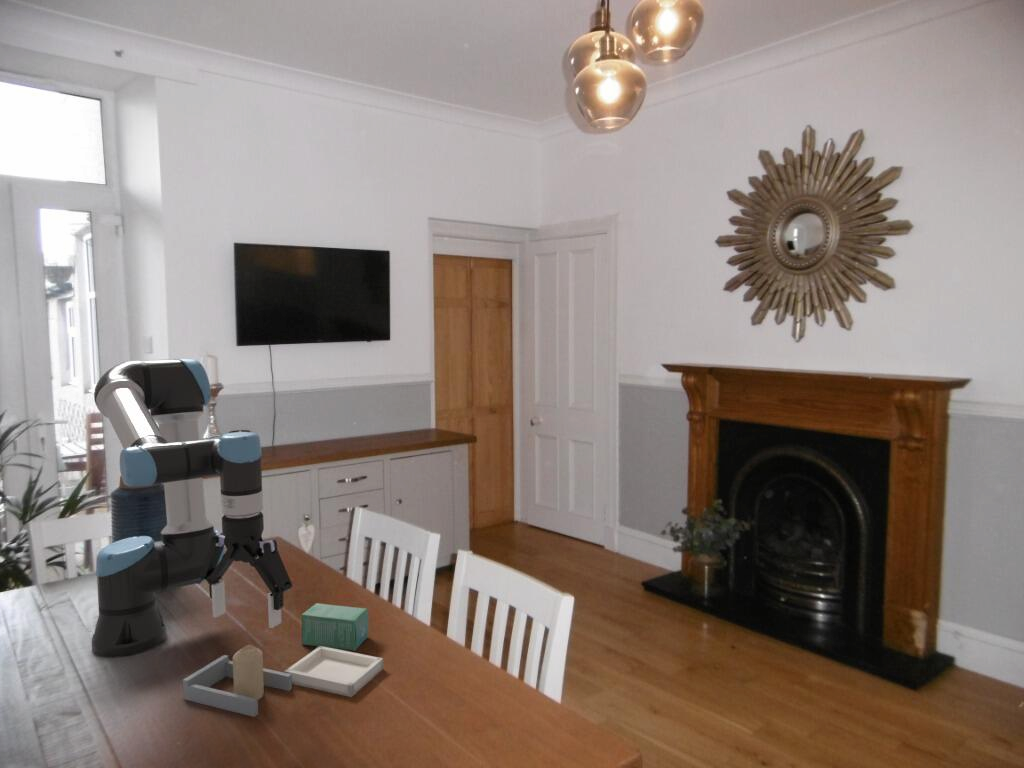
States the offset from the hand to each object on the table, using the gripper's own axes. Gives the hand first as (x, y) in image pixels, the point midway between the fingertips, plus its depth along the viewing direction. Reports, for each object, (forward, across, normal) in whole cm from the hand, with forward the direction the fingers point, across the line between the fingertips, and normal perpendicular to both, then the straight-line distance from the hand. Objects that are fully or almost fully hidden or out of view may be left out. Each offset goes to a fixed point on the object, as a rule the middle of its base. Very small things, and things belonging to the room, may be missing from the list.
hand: (246, 619), depth 141 cm
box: (+16, +2, +27) cm, 31 cm away
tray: (+16, +11, +13) cm, 23 cm away
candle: (+16, 0, 0) cm, 16 cm away
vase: (+15, -67, +36) cm, 78 cm away
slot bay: (+16, -2, 0) cm, 16 cm away
